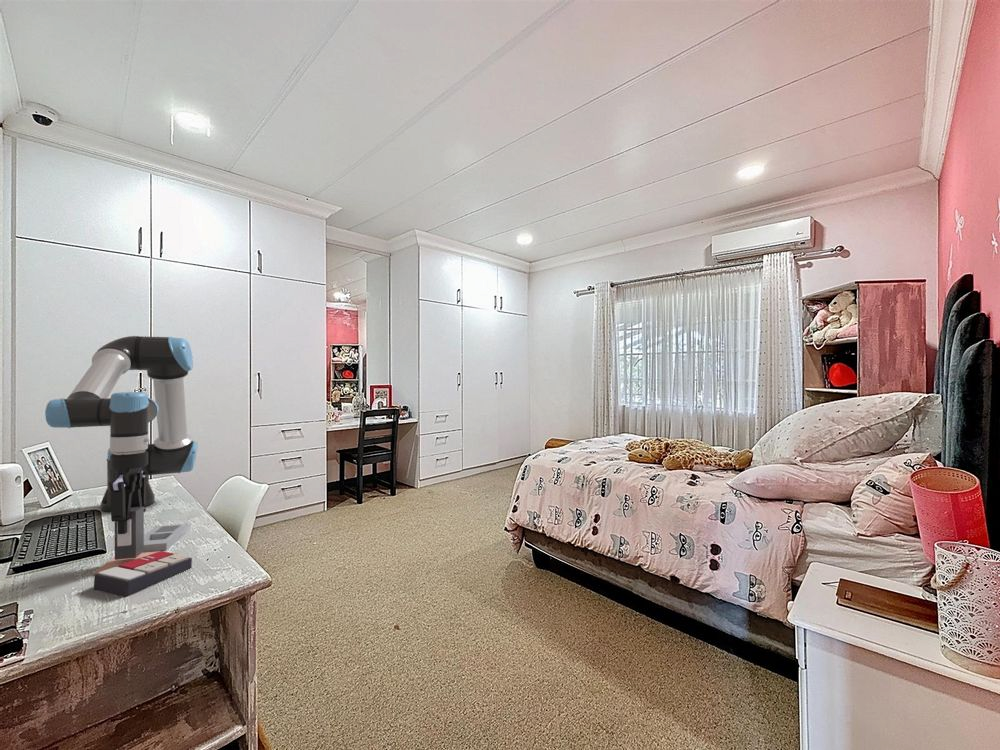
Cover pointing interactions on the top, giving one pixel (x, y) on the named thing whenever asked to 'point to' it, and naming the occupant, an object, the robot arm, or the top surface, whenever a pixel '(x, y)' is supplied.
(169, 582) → the top surface
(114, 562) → the mat
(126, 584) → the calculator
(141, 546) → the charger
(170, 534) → the grey flat block
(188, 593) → the top surface
